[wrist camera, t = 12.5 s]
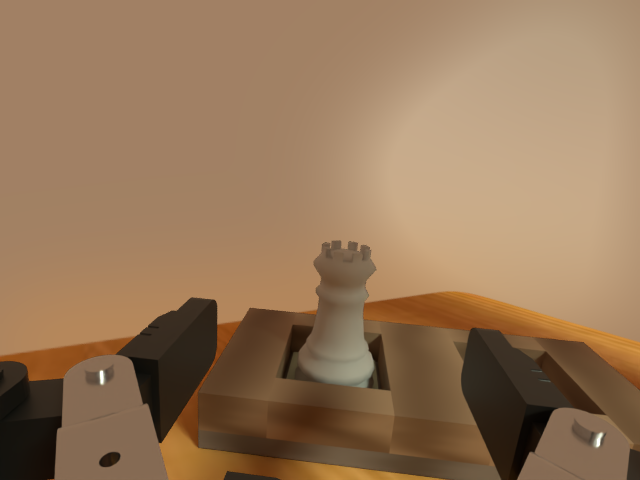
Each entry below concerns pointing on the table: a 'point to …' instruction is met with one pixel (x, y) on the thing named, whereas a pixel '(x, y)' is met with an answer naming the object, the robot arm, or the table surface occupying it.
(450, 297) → the table surface
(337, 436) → the slot rail
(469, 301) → the table surface
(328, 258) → the rook chess piece
